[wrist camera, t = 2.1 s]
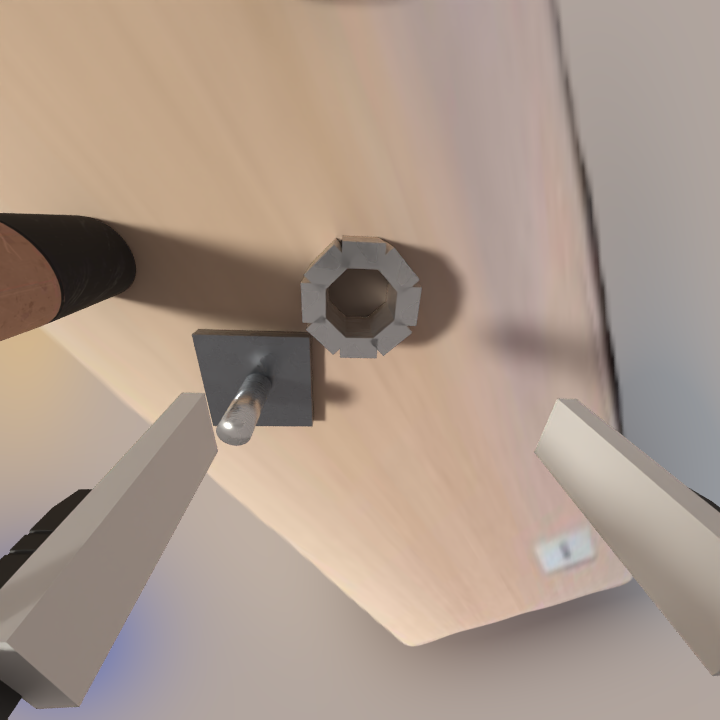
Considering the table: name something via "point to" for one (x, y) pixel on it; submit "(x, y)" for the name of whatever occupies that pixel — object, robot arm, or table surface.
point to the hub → (353, 331)
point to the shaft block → (255, 380)
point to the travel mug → (57, 268)
